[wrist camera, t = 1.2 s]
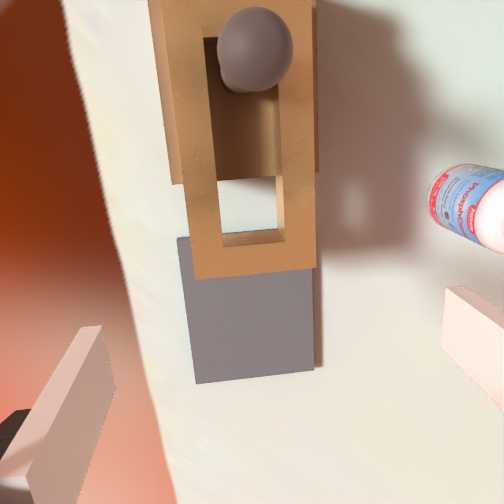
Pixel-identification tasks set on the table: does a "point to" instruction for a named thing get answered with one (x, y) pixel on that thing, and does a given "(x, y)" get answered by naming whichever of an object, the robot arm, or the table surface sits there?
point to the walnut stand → (236, 90)
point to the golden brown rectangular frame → (284, 133)
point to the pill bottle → (470, 203)
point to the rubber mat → (248, 321)
